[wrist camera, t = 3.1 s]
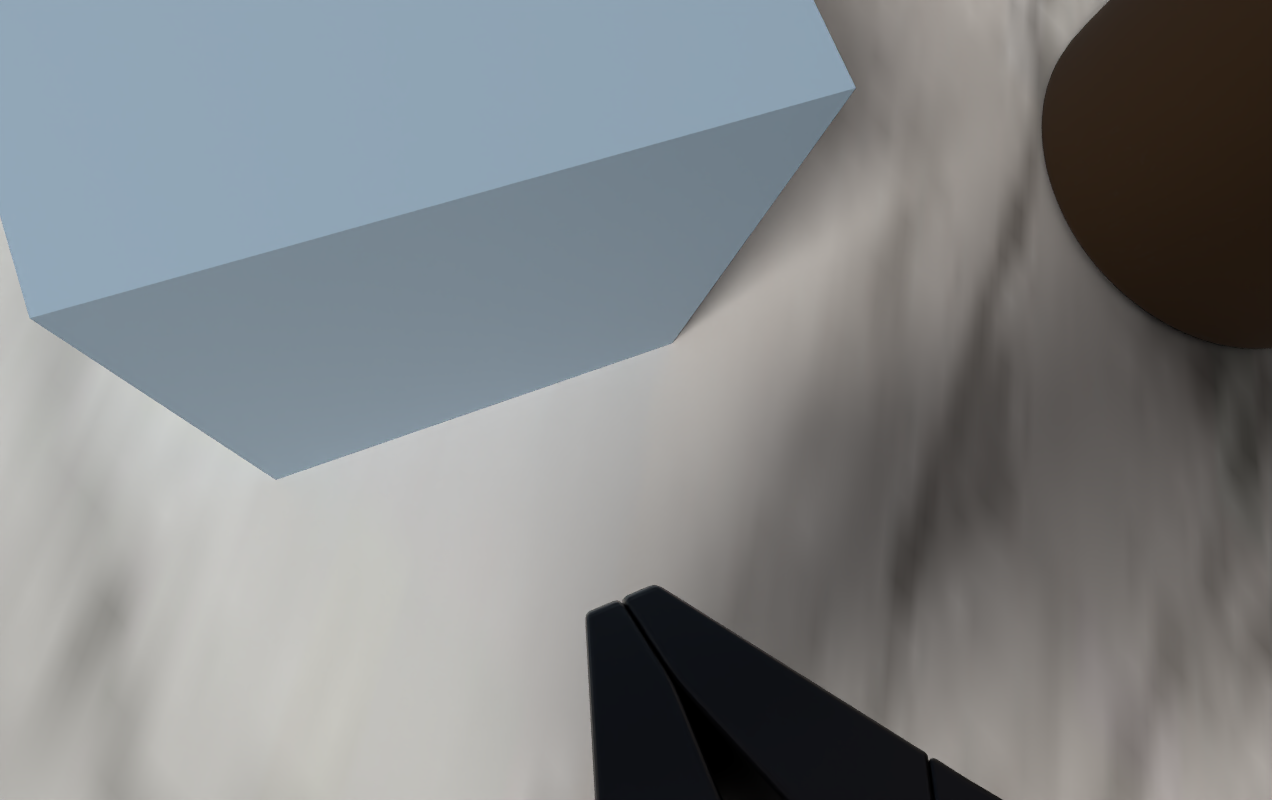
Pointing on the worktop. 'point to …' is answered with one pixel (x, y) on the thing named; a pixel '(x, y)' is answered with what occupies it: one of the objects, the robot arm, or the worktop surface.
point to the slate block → (389, 193)
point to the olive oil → (1172, 159)
